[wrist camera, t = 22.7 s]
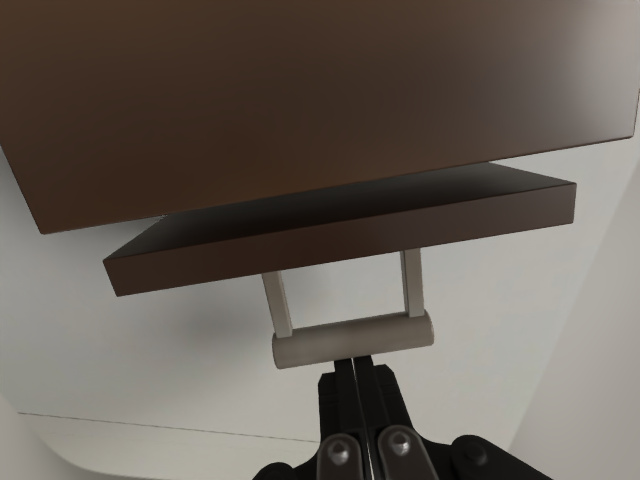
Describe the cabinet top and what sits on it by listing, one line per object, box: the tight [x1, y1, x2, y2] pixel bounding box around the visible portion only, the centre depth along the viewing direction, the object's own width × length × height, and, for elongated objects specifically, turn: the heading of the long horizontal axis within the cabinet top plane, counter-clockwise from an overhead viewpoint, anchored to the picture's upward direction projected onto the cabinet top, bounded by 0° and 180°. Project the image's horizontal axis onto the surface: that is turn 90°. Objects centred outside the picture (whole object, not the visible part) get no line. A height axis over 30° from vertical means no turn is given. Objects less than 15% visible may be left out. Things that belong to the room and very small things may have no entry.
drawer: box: [103, 162, 577, 369], centre depth 11 cm, size 19×13×6 cm
